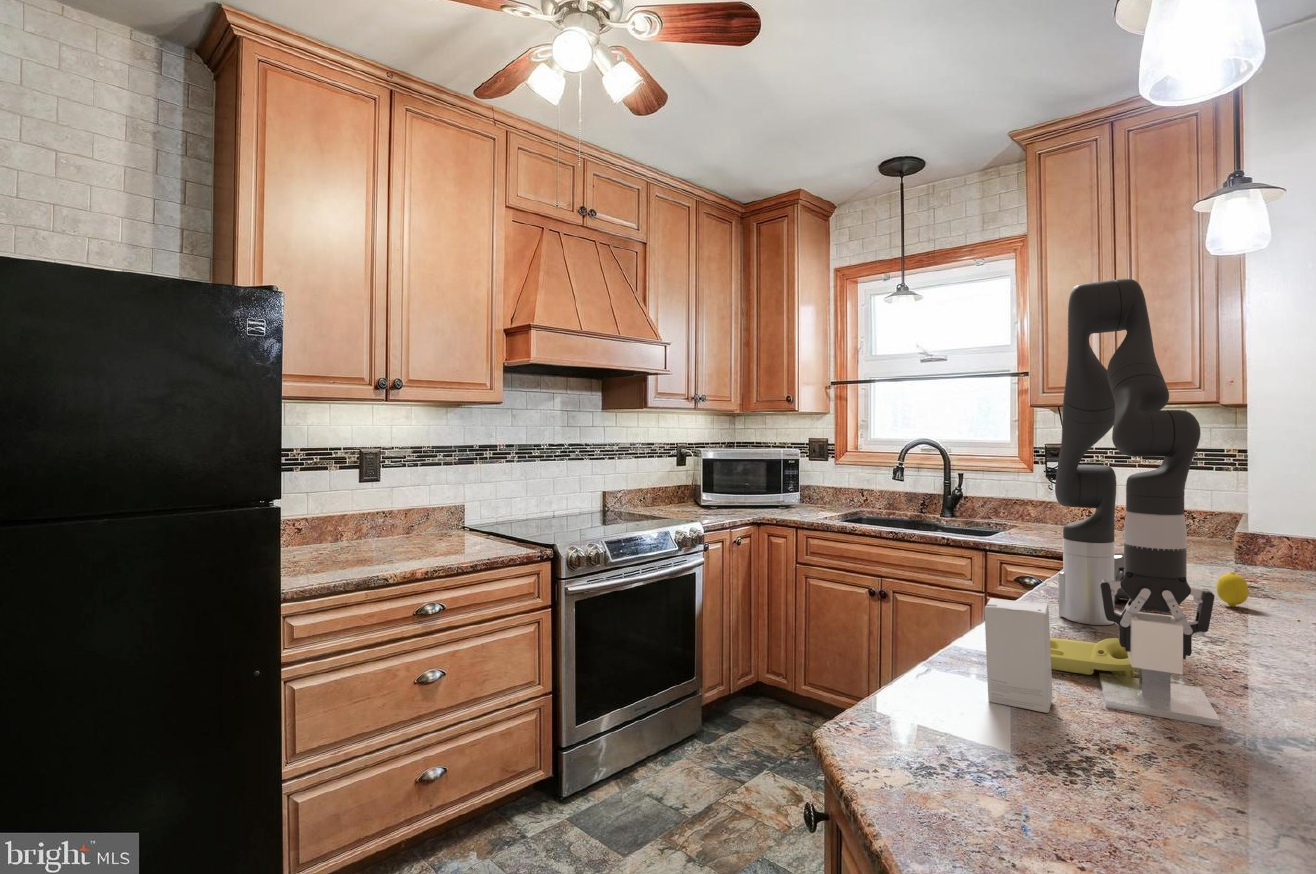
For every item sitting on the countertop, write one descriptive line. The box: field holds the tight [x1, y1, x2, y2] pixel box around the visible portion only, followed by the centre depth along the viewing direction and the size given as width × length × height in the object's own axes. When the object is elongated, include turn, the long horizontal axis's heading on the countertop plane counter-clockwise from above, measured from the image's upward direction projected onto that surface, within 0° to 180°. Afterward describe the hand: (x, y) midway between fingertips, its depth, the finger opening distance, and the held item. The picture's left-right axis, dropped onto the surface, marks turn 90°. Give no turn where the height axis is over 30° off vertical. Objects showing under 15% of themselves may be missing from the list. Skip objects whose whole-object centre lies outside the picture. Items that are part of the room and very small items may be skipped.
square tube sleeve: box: [1128, 611, 1184, 675], centre depth 99 cm, size 6×6×7 cm
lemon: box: [1216, 571, 1250, 608], centre depth 151 cm, size 6×6×8 cm
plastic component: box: [1050, 637, 1138, 678], centre depth 113 cm, size 20×7×10 cm
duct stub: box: [1099, 668, 1221, 728], centre depth 99 cm, size 13×13×6 cm
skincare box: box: [983, 597, 1053, 714], centre depth 99 cm, size 8×6×15 cm
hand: (1154, 653), depth 99 cm, fingers closed on square tube sleeve, 6 cm apart
